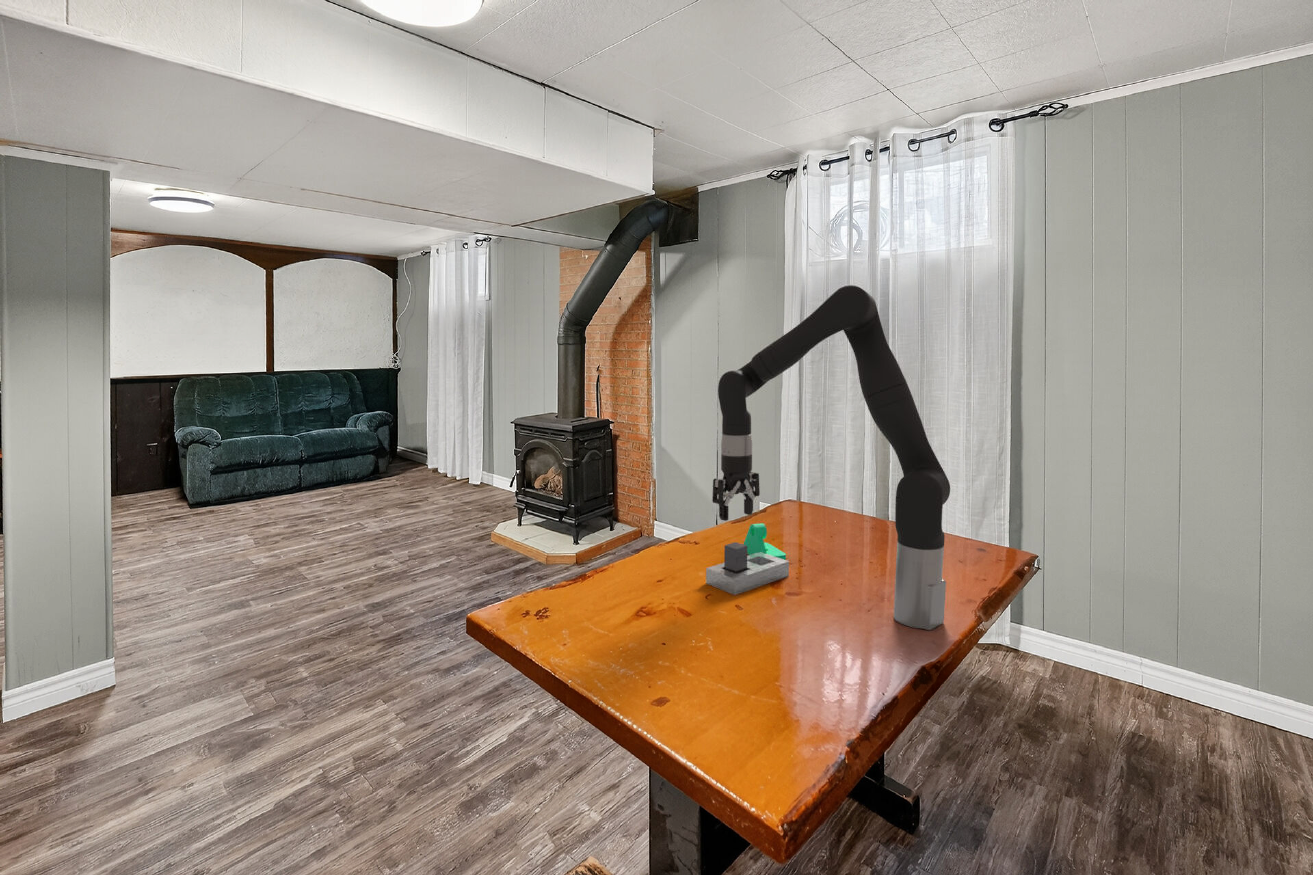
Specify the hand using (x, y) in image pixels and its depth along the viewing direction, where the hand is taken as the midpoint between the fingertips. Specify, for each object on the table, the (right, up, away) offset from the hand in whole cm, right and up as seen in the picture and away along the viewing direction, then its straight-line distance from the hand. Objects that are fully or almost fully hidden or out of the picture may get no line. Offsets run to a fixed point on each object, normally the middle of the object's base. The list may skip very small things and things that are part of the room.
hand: (736, 517), depth 155 cm
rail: (+4, -17, +5) cm, 18 cm away
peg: (0, -17, +2) cm, 17 cm away
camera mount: (+11, -15, +22) cm, 29 cm away
